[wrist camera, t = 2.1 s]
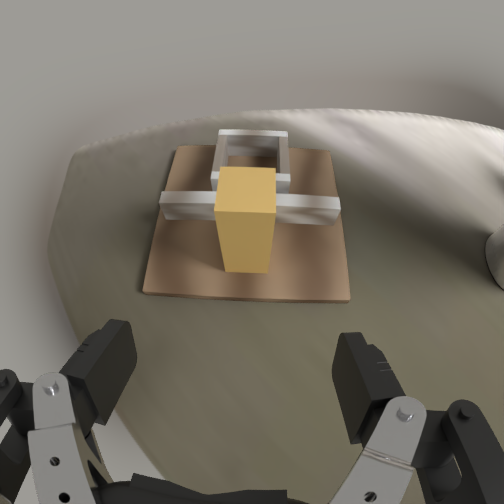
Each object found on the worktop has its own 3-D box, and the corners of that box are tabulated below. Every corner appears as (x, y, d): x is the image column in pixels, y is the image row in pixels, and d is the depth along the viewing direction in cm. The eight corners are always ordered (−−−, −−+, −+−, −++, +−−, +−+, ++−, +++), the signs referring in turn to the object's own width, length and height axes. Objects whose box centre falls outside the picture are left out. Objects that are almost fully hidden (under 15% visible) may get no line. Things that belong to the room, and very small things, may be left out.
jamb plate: (328, 156, 36) (335, 131, 32) (347, 303, 27) (363, 287, 23) (179, 151, 36) (172, 126, 32) (145, 294, 27) (129, 277, 23)
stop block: (268, 236, 29) (275, 168, 20) (267, 273, 27) (276, 213, 18) (228, 235, 29) (220, 166, 20) (225, 271, 27) (213, 211, 18)
